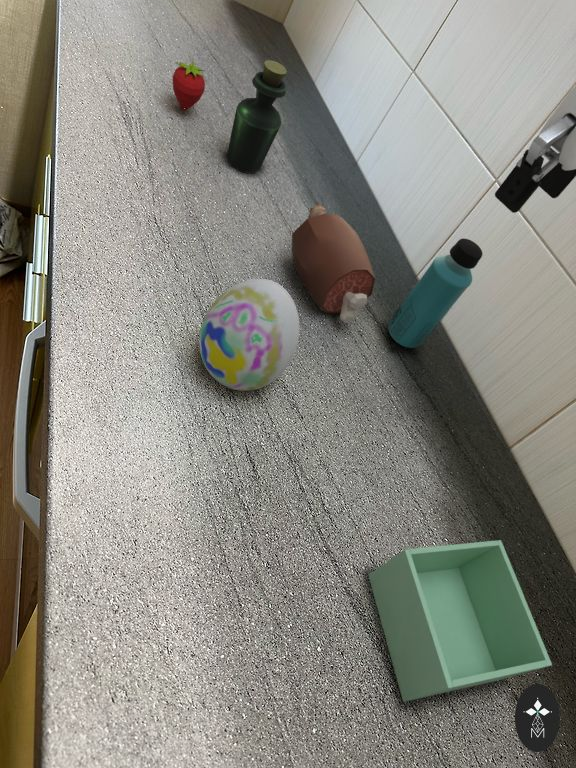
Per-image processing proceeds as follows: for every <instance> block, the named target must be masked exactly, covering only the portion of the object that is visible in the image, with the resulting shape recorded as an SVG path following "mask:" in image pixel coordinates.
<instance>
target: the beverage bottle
mask: <svg viewBox="0 0 576 768" xmlns="http://www.w3.org/2000/svg"><path fill="white" fill-rule="evenodd" d="M482 257H483V250H482V248H481V247H480V246H479V245H478V244H477V243H476V242H475V241H473V240H471V239H468V238H460V239H459V240H457V242H456V243H455V244H454V245H453V246H452V247H451V248H450V250H449V254H439V255H438V256H436V257H435V258H434V259H433V261H432V262H431V264H430V265H429V267H428V268H427V269H426V271H425V272H424V274H422V277H420V278H418V281H417V283H416V284H415V285H414V287H412V289H411V290H410V292H409V293H408V294H407V296H406V297H405V298H404V300H403V301H402V303H401V304H400V305H399V306H398V307H397V310H395V312H394V314H393V315H392V316H391V318H390V319H389V321H388V325H387V326H388V327H387V329H388V333H389V335H390V336H391V338H392V339H393V341H395V342H396V343H397V344H399V345H400V346H402V347H405V348H407V349H414V348H417V347H420V346H421V345H423V343H425V342H426V340H427V339H428V337H429V336H430V335H431V334H432V333H433V332H434V331H435V329H436V328H437V327H438V324H441V322H442V321H443V320H444V318H445V317H446V316H447V314H448V313H449V312H450V310H452V308H453V306H454V304H456V302H458V299H460V298H461V296H462V295H463V294H464V292H465V291H466V290H467V289H468V288H470V286H471V285H472V283H473V274H472V271H471V269H475V267H476V266H477V265H478V263H479V262H480V260H481V259H482Z"/></svg>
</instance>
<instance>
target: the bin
mask: <svg viewBox="0 0 576 768" xmlns="http://www.w3.org/2000/svg"><path fill="white" fill-rule="evenodd" d="M367 576H368V580H369V583H370V586H371V590H372V595H373V598H374V600H375V601H374V602H375V604H376V609H377V612H378V615H379V619H380V624H381V626H382V630H383V634H384V637H385V641H386V644H387V648H388V652H389V655H390V658H391V662H392V667H393V670H394V673H395V677H396V681H397V684H398V688H399V692H400V696H401V699H402V702H404V703H405V702H410V701H415V700H417V699H422V698H427V697H431V696H435V695H440V694H444V693H449V692H454V691H458V690H463V689H467V688H471V687H476V686H480V685H484V684H485V685H486V684H488V683H493V682H497V681H502V680H506V679H509V678H512V677H516V676H519V675H523V674H526V673H530V672H534V671H537V670H541V669H544V668H547V667H552V666H553V663H552V661H551V659H550V656H549V654H548V651H547V649H546V646H545V643H544V641H543V639H542V637H541V634H540V632H539V629H538V626H537V624H536V622H535V620H534V617H533V615H532V613H531V610H530V607H529V605H528V601H527V600H526V597H525V595H524V592H523V590H522V587H521V585H520V583H519V580H518V578H517V575H516V573H515V571H514V568H513V566H512V563H511V560H510V558H509V556H508V553H507V552H506V549H505V547H504V544H503V542H502V539H498V540H488V541H486V540H485V541H478V542H467V543H458V544H446V545H445V544H444V545H436V546H429V547H428V546H427V547H426V546H425V547H416V548H407V549H404V550H402V551H401V552H399V553H397V554H396V555H395V556H393V557H392V558H391V559H389V560H387V561H386V562H384V564H382V565H380V566H379V567H377V568H376V569H375V570H373V571H372V572H370V573H369V574H368V575H367Z"/></svg>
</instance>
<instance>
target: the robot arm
mask: <svg viewBox="0 0 576 768" xmlns="http://www.w3.org/2000/svg"><path fill="white" fill-rule="evenodd" d="M554 149H555V150H554ZM545 158H546V159H547V160H548V161H547V162H546V163H545V164H544V160H545ZM575 178H576V83H575V84H574V85H573V86H572V87H571V89H570V90H569V91H568V92H567V94H566V95H565V96H564V97H563V99H562V100H561V101H560V102H559V104H558V105H557V106H556V108H555V109H554V110H553V111H552V113H551V114H550V115H549V116H548V118H547V119H546V121H545V122H544V124H543V125H542V126H541V128H540V129H539V131H538V132H537V134H536V136H535V138H534V139H533V140H532V143H531V144H530V146H529V148H528V149H526V150H525V151H524V153H523V155H522V157H520V159H518V161H517V162H516V164H515V166H514V167H513V168H512V170H511V171H510V173H509V174H508V175H507V177H506V178H505V179H504V180H503V182H502V183H501V184H500V186H499V187H498V188H497V189H496V190H495V192H494V198H496V199H497V200H498V201H499V202H500V203H501V204H502V205H503V206H505V208H506V209H508V210H509V211H510V212H511V213H513V214H516V213H518V212H519V211H520V210H522V208H523V207H524V205H525V204H526V203H527V202H528V200H529V199H530V198H531V197H532V196H533V194H534V193H535V192H536V191H537V189H538V188H540V189H541V190H543V192H544V193H546V194H547V195H548V196H549V197H550V198H552V199H557V198H559V196H560V195H561V194H562V193H563V192H564V191H565V190H566V189H567V187H568V186H569V185H570V184H571V183H572V181H573V180H574V179H575Z"/></svg>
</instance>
